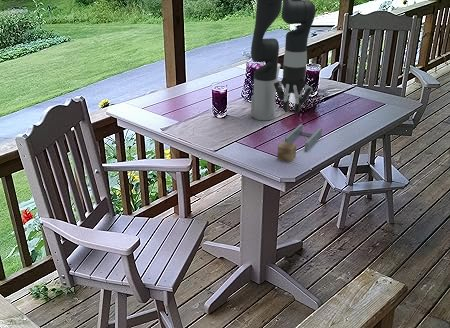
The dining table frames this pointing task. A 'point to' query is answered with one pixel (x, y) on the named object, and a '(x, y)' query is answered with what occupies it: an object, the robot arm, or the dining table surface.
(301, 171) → the dining table surface
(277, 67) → the smoothie
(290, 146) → the block
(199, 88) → the dining table surface
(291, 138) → the channel
